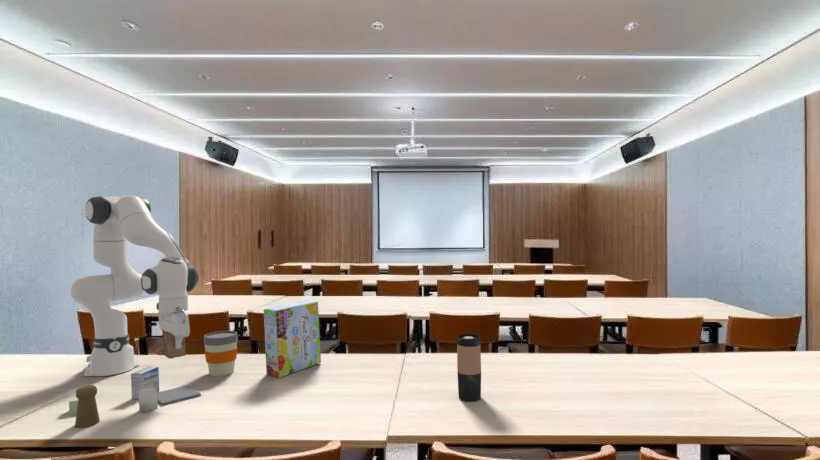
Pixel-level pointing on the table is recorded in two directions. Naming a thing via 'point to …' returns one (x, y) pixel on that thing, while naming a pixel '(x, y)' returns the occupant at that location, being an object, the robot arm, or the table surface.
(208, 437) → the table surface
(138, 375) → the medicine box
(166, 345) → the walnut block
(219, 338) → the reusable coffee cup
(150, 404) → the white smooth pebble
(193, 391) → the slate mat
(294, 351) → the snack box
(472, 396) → the travel mug
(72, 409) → the sage green block
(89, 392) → the cork
